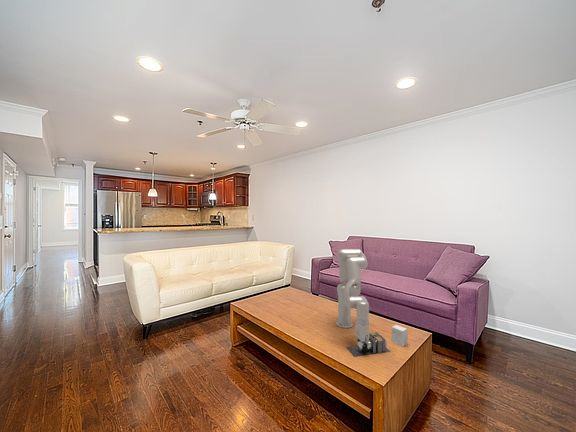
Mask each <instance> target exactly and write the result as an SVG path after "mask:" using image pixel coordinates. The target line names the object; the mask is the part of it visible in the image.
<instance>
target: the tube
mask: <svg viewBox="0 0 576 432" xmlns="http://www.w3.org/2000/svg"><path fill="white" fill-rule="evenodd" d="M375 340H376V339H375ZM365 343H366V342H364V344H365ZM369 343H370V344H369V345H368V346H367V350H368V349H372V341H371V340H369ZM387 345H388V343H387V340H386V339H385V347H386V348H387ZM356 346H357V348H358V350H359V351H361V350H362V346H363V343H362V342H361V341H359V342H358V341H356ZM376 348H377V340H376Z"/></svg>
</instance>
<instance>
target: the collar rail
mask: <svg viewBox="0 0 576 432" xmlns="http://www.w3.org/2000/svg"><path fill="white" fill-rule="evenodd" d="M375 339H376V340H377V348H376V340H375ZM365 340H366V339H365ZM369 340H371V341H372V349H368V350H367V352H364V353H363V352H362V350H361V351H359V350H358V348H357V345H356V346H355V345H354V346H348V347H345V349H346V350H348V351H349V353H350V354H351V355H352V356H353V358H357V357H363V356H372V355H378V354H386V353H392V351H391V350H390V349H389V348H388V347H387V346H386V347H385V340H386V338H384V337H383V336H382V335H381V334H379V332H377V331H375V332H374V331H369Z"/></svg>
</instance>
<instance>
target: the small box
mask: <svg viewBox="0 0 576 432" xmlns="http://www.w3.org/2000/svg"><path fill="white" fill-rule="evenodd" d="M391 342H392V343H395V344H396V345H399V346H400V347H405V346H408V328H406V327H404V326H402V325H398V324H395V325H392V326H391Z"/></svg>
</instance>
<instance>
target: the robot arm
mask: <svg viewBox="0 0 576 432" xmlns="http://www.w3.org/2000/svg"><path fill="white" fill-rule="evenodd" d="M337 259H338V260H337V261H338V262H339V263H338V264H339V269H338V271H339V273H338V276H339V280H340V282H342V283H339V284H337V286H336V287H337V288H336V291H337V304H338V305H337V307H338V309H337V321H335V324H336V326H338V327H339V328H342V329H350V328H352V327H353V326H354V323H353V321H352V309H355V310H356V311H355V312H356V313H355V315H356V317H355V318H356V319H355V320H356V321H355V326H354V327H355V329H354V335H355V337H356V340H357V341H356V342H359V341H361V342H362V343H363V346H362V352H363V353H364V352H367V346H368V345H369V344H370V343H369V332H370V326H369V324H370V303H369V302H368V299H367V298H366V297H365V295H364V296H363V295H360V294H361V291H362V290H361V286H362V284H361V283H362V282H361V281H362V275H361V274H362V273H361V270H366V269H368V265H369V264H368V263H369V262H368V258H367V257H366V255H365V254H364V253H363V251H362V250H361V249H359V248H342V249H339V250H338V251H337ZM365 339H366V340H365ZM364 342H366V343H365V344H364Z"/></svg>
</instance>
